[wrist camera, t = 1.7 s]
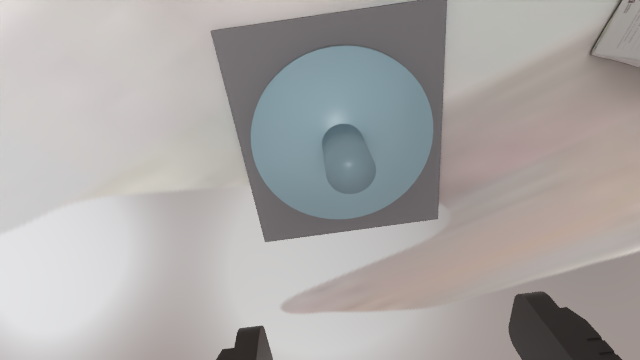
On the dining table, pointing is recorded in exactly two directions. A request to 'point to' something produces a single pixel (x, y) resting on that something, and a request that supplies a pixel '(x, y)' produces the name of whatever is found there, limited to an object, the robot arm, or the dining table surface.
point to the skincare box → (621, 35)
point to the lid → (341, 132)
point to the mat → (322, 31)
